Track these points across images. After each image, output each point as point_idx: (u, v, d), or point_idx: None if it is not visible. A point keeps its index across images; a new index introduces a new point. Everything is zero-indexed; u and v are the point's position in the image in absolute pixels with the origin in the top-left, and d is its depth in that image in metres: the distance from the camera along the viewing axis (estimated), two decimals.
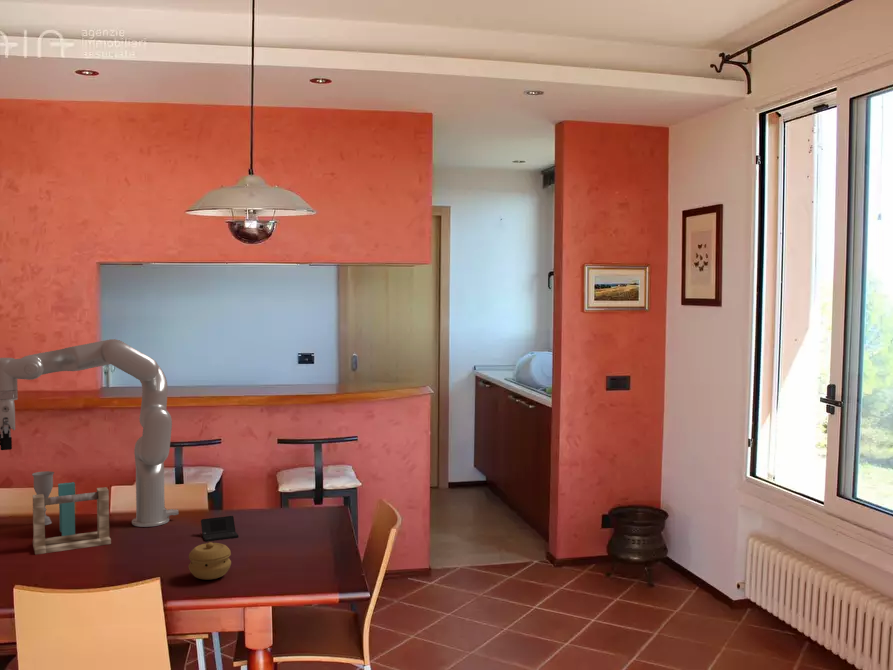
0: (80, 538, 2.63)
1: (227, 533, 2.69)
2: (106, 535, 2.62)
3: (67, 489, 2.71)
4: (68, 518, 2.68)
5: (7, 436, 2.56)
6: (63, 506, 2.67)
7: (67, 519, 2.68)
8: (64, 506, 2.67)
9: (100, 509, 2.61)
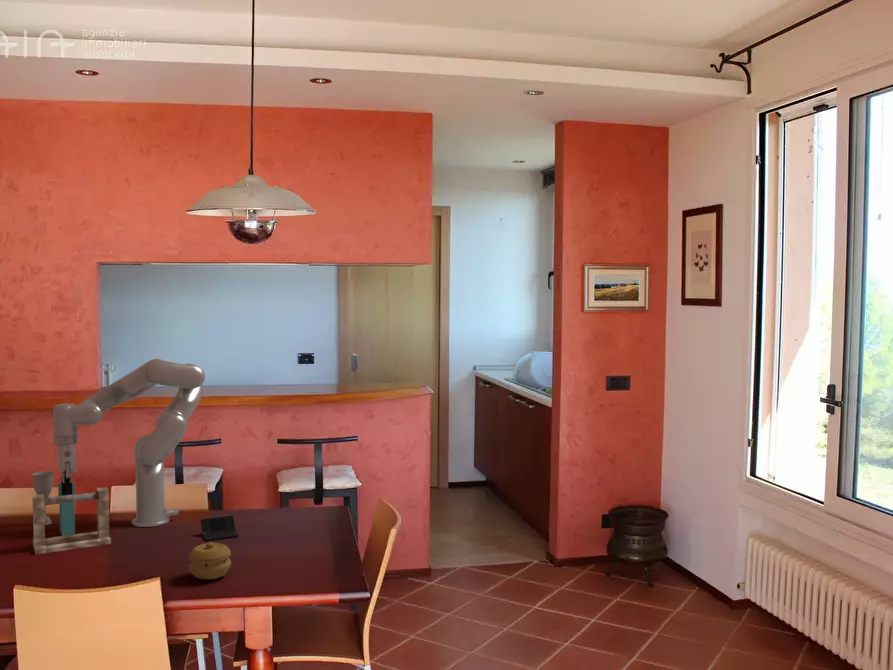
0: (80, 538, 2.63)
1: (227, 533, 2.69)
2: (106, 535, 2.62)
3: None
4: (68, 518, 2.68)
5: (68, 483, 2.69)
6: (63, 506, 2.67)
7: (66, 519, 2.68)
8: (64, 506, 2.67)
9: (100, 509, 2.61)
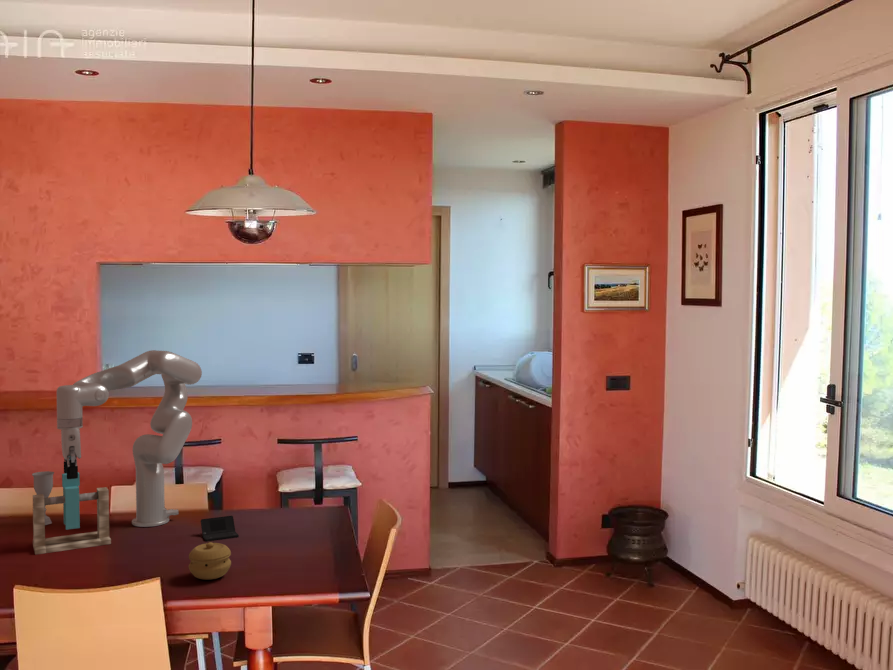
0: (80, 538, 2.63)
1: (227, 533, 2.69)
2: (106, 535, 2.62)
3: (71, 479, 2.57)
4: (72, 510, 2.55)
5: (74, 465, 2.53)
6: (67, 497, 2.54)
7: (71, 511, 2.55)
8: (68, 497, 2.54)
9: (100, 509, 2.61)
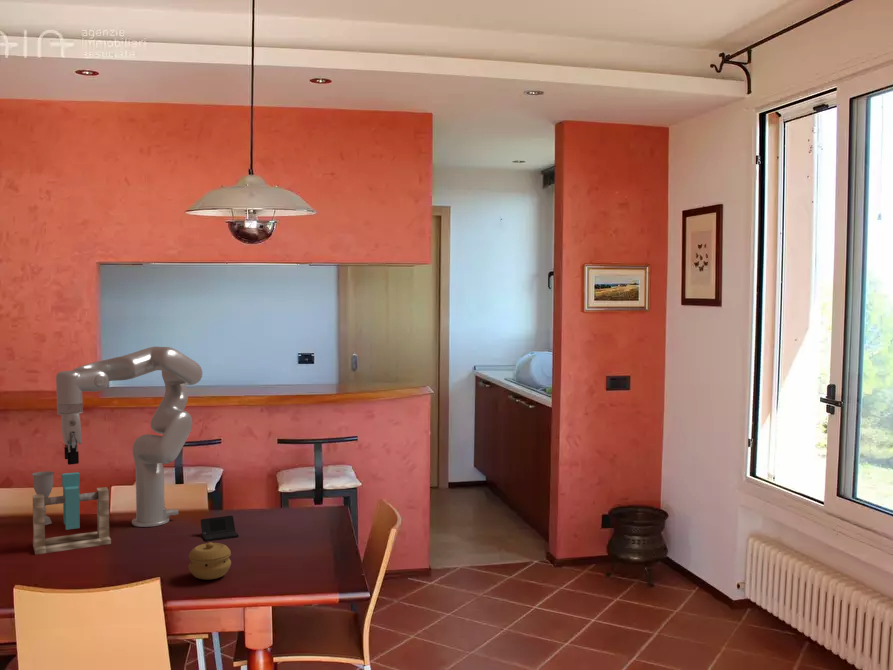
0: (80, 538, 2.63)
1: (227, 533, 2.69)
2: (106, 535, 2.62)
3: (71, 479, 2.57)
4: (72, 510, 2.55)
5: (74, 450, 2.53)
6: (67, 497, 2.54)
7: (71, 511, 2.55)
8: (68, 497, 2.54)
9: (100, 509, 2.61)
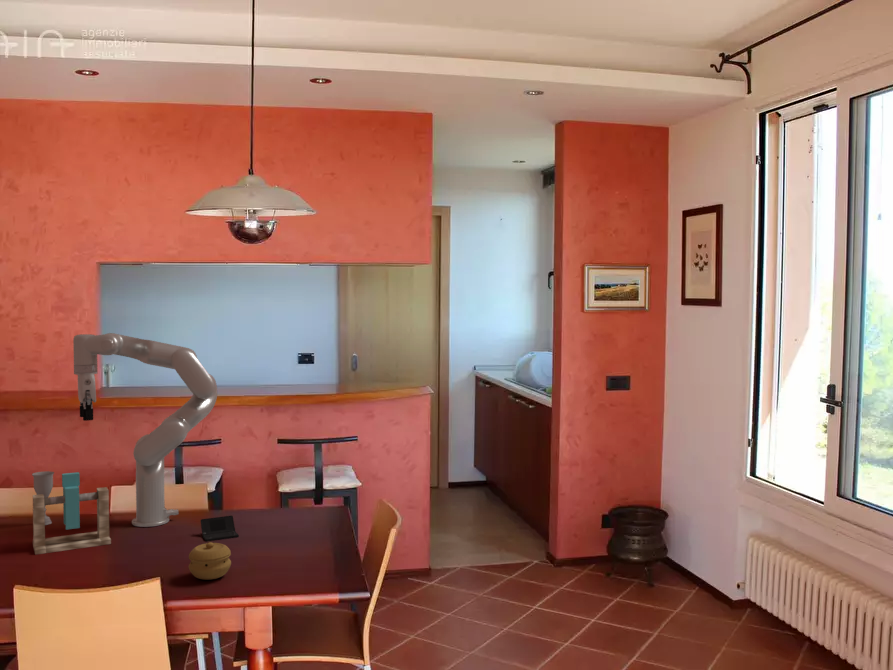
0: (80, 538, 2.63)
1: (227, 533, 2.69)
2: (106, 535, 2.62)
3: (71, 479, 2.57)
4: (72, 510, 2.55)
5: (89, 407, 2.72)
6: (67, 497, 2.54)
7: (71, 511, 2.55)
8: (68, 497, 2.54)
9: (100, 509, 2.61)
